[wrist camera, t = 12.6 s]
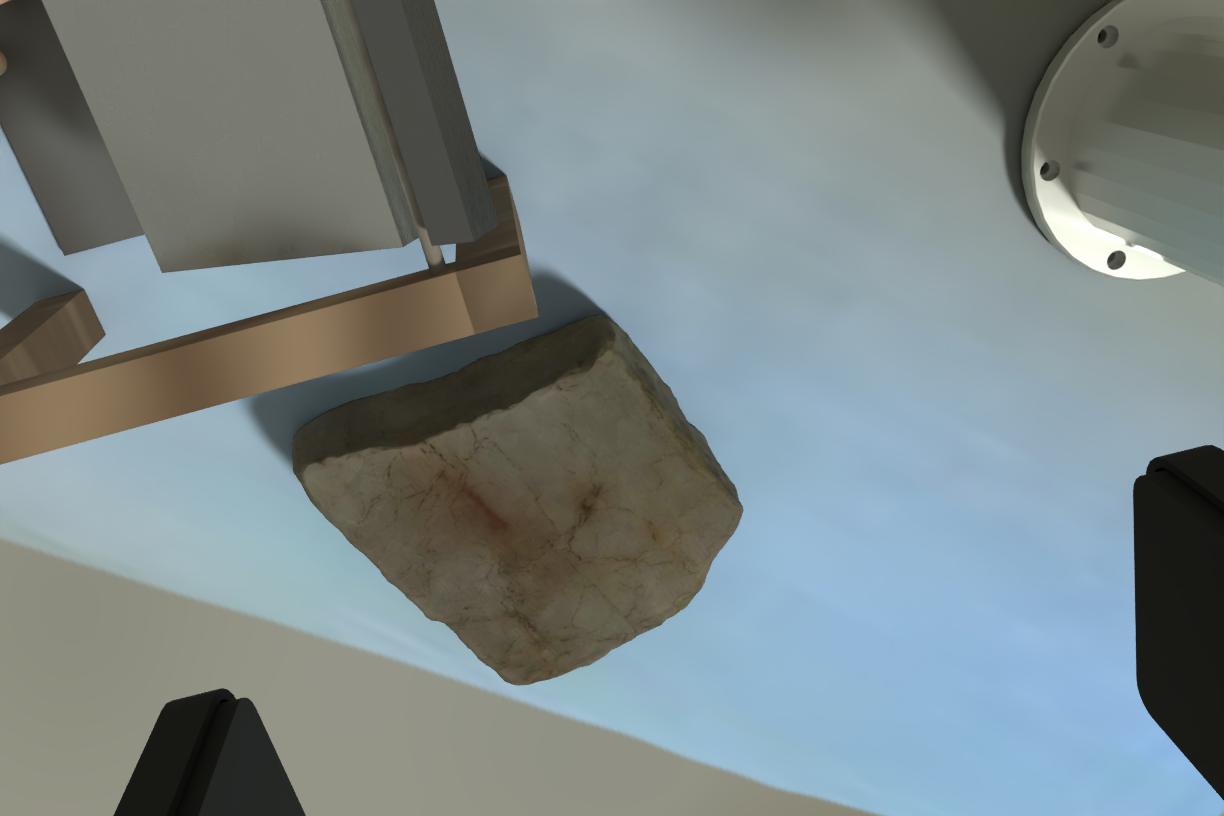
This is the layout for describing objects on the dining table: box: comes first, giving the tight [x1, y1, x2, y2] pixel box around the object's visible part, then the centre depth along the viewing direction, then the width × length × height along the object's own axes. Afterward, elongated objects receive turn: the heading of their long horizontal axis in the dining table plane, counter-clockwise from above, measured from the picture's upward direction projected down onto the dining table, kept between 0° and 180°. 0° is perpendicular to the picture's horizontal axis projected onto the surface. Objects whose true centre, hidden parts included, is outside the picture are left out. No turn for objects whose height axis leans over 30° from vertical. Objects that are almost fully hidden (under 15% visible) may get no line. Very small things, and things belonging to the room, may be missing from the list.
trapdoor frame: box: [0, 0, 539, 465], centre depth 32 cm, size 20×21×13 cm
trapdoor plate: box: [42, 0, 500, 273], centre depth 29 cm, size 13×15×1 cm
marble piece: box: [292, 315, 743, 685], centre depth 46 cm, size 17×15×4 cm
